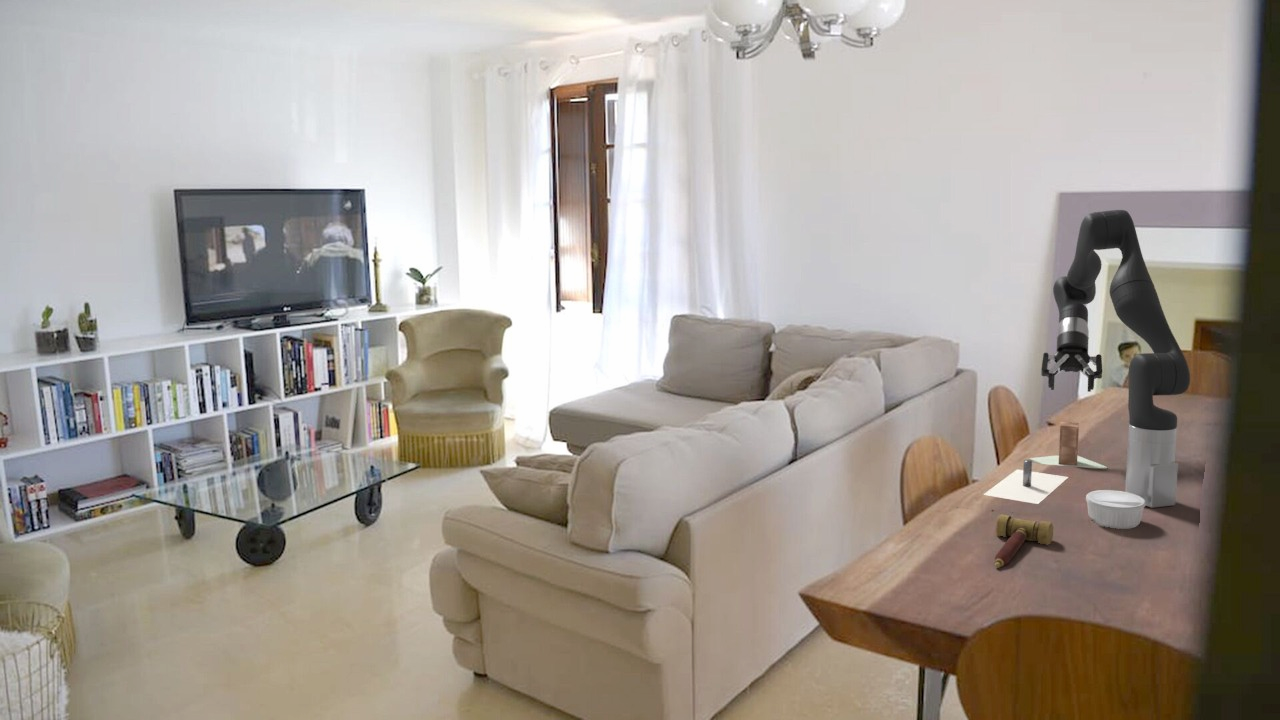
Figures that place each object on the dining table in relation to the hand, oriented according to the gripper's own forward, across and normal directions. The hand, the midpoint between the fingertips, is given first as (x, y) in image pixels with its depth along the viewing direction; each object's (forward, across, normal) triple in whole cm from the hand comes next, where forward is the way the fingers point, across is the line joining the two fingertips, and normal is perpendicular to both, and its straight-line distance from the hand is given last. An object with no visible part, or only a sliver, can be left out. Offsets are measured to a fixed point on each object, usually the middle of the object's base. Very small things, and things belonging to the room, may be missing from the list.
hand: (1070, 389), depth 239 cm
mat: (+16, 0, +10) cm, 19 cm away
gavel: (+64, -10, -36) cm, 74 cm away
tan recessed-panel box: (+16, 0, +10) cm, 19 cm away
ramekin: (+46, +9, -19) cm, 51 cm away
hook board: (+34, -9, -8) cm, 36 cm away
